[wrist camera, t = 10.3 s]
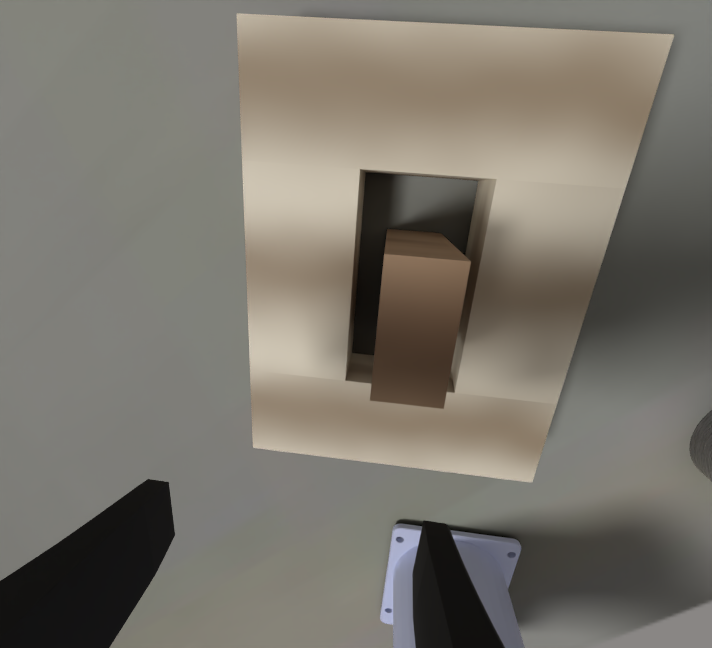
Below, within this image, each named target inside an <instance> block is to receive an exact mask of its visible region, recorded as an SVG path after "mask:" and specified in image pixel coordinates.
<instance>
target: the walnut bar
mask: <svg viewBox="0 0 712 648" xmlns="http://www.w3.org/2000/svg"><path fill="white" fill-rule="evenodd" d="M470 265H471V261H470V260H469V259H468V258H467V257H466V256H465V255H464V254H462V253H461V252H460V251H459V250H458V249H457V248H456V247H455V246H454V245H453V244H452V243H451V242H450V241H449V240H448V239H447V238H445V237H444V236H443V235H442V234H441V233H434V232H422V231H410V230H398V229H387V235H386V243H385V252H384V261H383V271H382V281H381V292H380V302H379V312H378V322H377V332H376V342H375V353H374V363H373V373H372V383H371V393H370V401H378V402H387V403H396V404H404V405H413V406H422V407H431V408H440V409H444V405H445V399H446V394H447V388H448V383H449V378H450V372H451V367H452V361H453V356H454V351H455V345H456V340H457V335H458V329H459V324H460V318H461V313H462V308H463V302H464V297H465V291H466V286H467V281H468V275H469V270H470Z"/></svg>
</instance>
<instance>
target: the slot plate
mask: <svg viewBox="0 0 712 648" xmlns="http://www.w3.org/2000/svg"><path fill="white" fill-rule="evenodd" d="M237 35H238V62H239V88H240V115H241V141H242V168H243V194H244V221H245V247H246V274H247V300H248V327H249V353H250V380H251V406H252V433H253V448H259V449H267V450H275V451H283V452H291V453H299V454H307V455H315V456H323V457H331V458H339V459H347V460H355V461H363V462H371V463H379V464H387V465H395V466H403V467H411V468H419V469H427V470H435V471H443V472H452V473H460V474H468V475H476V476H484V477H492V478H500V479H508V480H516V481H524V482H532V481H533V478H534V475H535V472H536V469H537V466H538V462H539V459H540V456H541V453H542V450H543V447H544V444H545V440H546V437H547V434H548V431H549V428H550V425H551V422H552V418H553V415H554V412H555V409H556V406H557V403H558V400H559V396H560V393H561V390H562V387H563V384H564V381H565V377H566V374H567V371H568V368H569V365H570V362H571V359H572V355H573V352H574V349H575V346H576V343H577V340H578V337H579V333H580V330H581V327H582V324H583V321H584V318H585V315H586V311H587V308H588V305H589V302H590V299H591V296H592V293H593V289H594V286H595V283H596V280H597V277H598V274H599V270H600V267H601V264H602V261H603V258H604V255H605V252H606V248H607V245H608V242H609V239H610V236H611V233H612V230H613V226H614V223H615V220H616V217H617V214H618V211H619V208H620V204H621V201H622V198H623V195H624V192H625V189H626V186H627V182H628V179H629V176H630V173H631V170H632V167H633V164H634V160H635V157H636V154H637V151H638V148H639V145H640V141H641V138H642V135H643V132H644V129H645V126H646V123H647V119H648V116H649V113H650V110H651V107H652V104H653V101H654V97H655V94H656V91H657V88H658V85H659V82H660V79H661V75H662V72H663V69H664V66H665V63H666V60H667V57H668V53H669V50H670V47H671V44H672V41H673V38H674V35H673V34H652V33H631V32H610V31H589V30H569V29H548V28H527V27H506V26H485V25H464V24H443V23H422V22H402V21H381V20H360V19H339V18H318V17H297V16H276V15H255V14H237ZM366 172H368V173H382V174H395V175H409V176H422V177H435V178H449V179H462V180H476V181H478V186H477V191H476V197H475V203H474V208H473V214H472V219H471V225H470V230H469V236H468V242H467V247H466V253H465V256H466V257H467V258H468V259H469V260H470V261H471V265H470V270H469V275H468V281H467V286H466V291H465V297H464V302H463V308H462V313H461V318H460V324H459V329H458V335H457V340H456V345H455V351H454V356H453V361H452V367H451V372H450V378H449V383H448V388H447V394H446V399H445V405H444V409H440V408H431V407H422V406H413V405H404V404H396V403H387V402H378V401H370V393H371V383H372V373H373V363H374V355H366V354H357V353H352V347H353V334H354V320H355V307H356V294H357V280H358V267H359V253H360V240H361V227H362V213H363V200H364V187H365V173H366Z"/></svg>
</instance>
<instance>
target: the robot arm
mask: <svg viewBox="0 0 712 648" xmlns="http://www.w3.org/2000/svg"><path fill="white" fill-rule="evenodd" d="M174 536H175V532H174V523H173V515H172V507H171V498H170V490H169V482H164V481H157V480H150V479H148V480H146V481H145V482H143V483H142V484H140V485H139V486H138V487H136V488H135V489H133V490H132V491H131V492H129V493H128V494H126V495H125V496H124V497H122V498H121V499H119V500H118V501H117V502H115V503H114V504H113V505H111V506H110V507H108V508H107V509H106V510H104V511H103V512H101V513H100V514H99V515H97V516H96V517H94V518H93V519H92V520H90V521H89V522H87V523H86V524H85V525H83V526H82V527H80V528H79V529H77V530H76V531H75V532H73V533H72V534H70V535H69V536H67V537H66V538H65V539H63V540H62V541H60V542H59V543H57V544H56V545H54V546H53V547H51V548H50V549H48V550H47V551H45V552H44V553H42V554H41V555H39V556H38V557H36V558H35V559H33V560H32V561H30V562H29V563H27V564H26V565H24V566H23V567H21V568H20V569H18V570H17V571H15V572H13V573H12V574H10V575H9V576H7V577H6V578H4V579H3V580H1V581H0V648H109V647H110V646H111V644H112V642H113V641H114V639H115V638H116V636H117V635H118V633H119V631H120V630H121V628H122V627H123V625H124V624H125V622H126V620H127V619H128V617H129V616H130V614H131V613H132V611H133V609H134V608H135V606H136V605H137V603H138V601H139V600H140V598H141V597H142V595H143V593H144V592H145V590H146V589H147V587H148V585H149V584H150V582H151V581H152V579H153V577H154V576H155V574H156V572H157V570H158V568H159V566H160V564H161V562H162V560H163V558H164V556H165V554H166V552H167V550H168V548H169V546H170V544H171V542H172V540H173V538H174ZM520 552H521V545H520V543H519V541H518V540H516V539H513V538H505V537H498V536H490V535H483V534H475V533H468V532H461V531H453V530H450V528H449V527H448V526H447V524H443V523H437V522H430V521H423V525H422V526H416V525H409V524H396V525H395V526H394V527H393V531H392V538H391V545H390V551H389V558H388V565H387V572H386V578H385V585H384V592H383V599H382V605H381V612H380V620H381V621H382V622H383V623H386V624H393V648H525V647H524V644H523V640H522V637H521V633H520V630H519V626H518V623H517V619H516V616H515V612H514V609H513V605H512V602H511V598H510V595H509V592H508V588H509V585H510V582H511V579H512V576H513V573H514V570H515V567H516V564H517V561H518V558H519V555H520Z"/></svg>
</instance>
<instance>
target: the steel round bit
mask: <svg viewBox="0 0 712 648" xmlns="http://www.w3.org/2000/svg"><path fill="white" fill-rule="evenodd" d="M690 456H691V459H692V461H693V463H694V465H695V466H696V467H697V468H698V469H699V470H700V471H701V472H702V473H703V474H704V475H705V476H706V477H707V478H708V479H709V480H711V481H712V410H711V411H710V412H709V413H708V414H707V415H706V416H705V417H704V418H703V419H702V420H701V421H700V423H699V424H698V425H697V427H696V428H695V430H694V432H693V435H692V437H691V441H690Z"/></svg>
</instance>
